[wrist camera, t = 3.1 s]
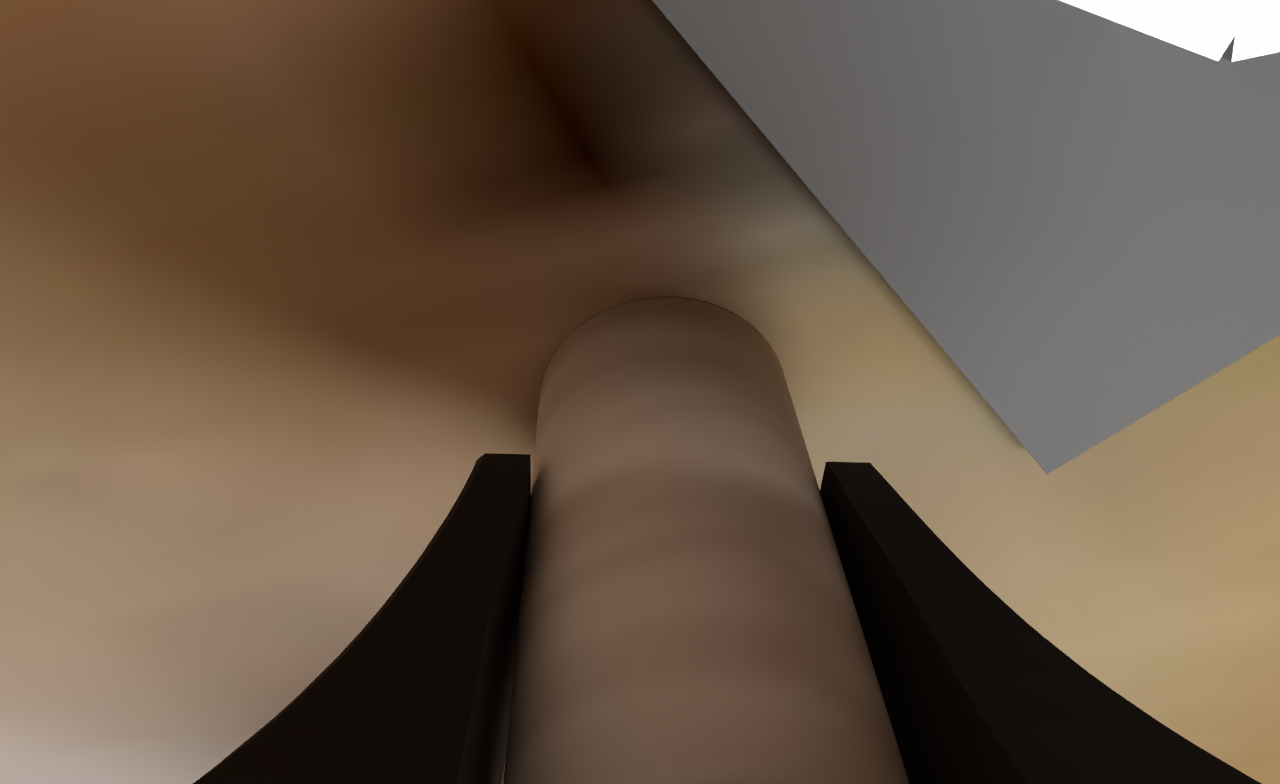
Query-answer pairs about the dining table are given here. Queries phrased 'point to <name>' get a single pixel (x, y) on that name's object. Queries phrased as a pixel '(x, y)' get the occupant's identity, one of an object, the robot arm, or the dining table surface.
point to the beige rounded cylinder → (684, 572)
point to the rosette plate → (1028, 188)
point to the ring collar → (1199, 23)
